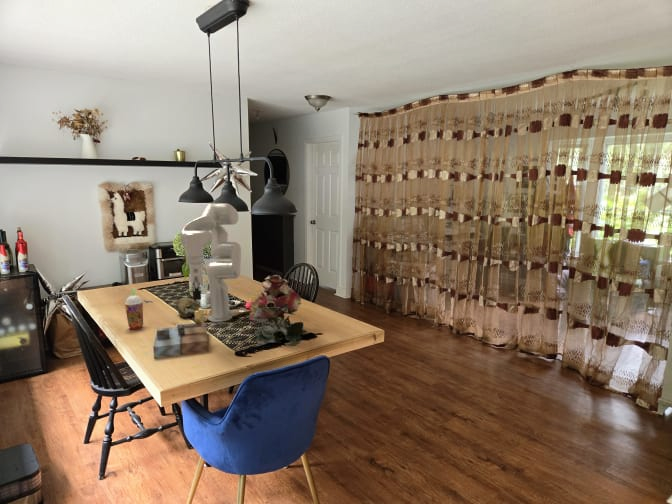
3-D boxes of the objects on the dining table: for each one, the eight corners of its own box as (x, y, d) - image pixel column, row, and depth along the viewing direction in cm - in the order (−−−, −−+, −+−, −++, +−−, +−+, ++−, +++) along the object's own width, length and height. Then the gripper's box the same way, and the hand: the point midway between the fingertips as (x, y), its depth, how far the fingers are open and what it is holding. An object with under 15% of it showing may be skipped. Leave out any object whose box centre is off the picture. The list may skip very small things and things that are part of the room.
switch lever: (177, 329, 188) (176, 314, 187) (177, 327, 192) (176, 312, 191) (203, 326, 192) (202, 311, 191) (203, 324, 195) (202, 309, 194)
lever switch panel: (206, 333, 207) (205, 315, 205) (208, 351, 184) (207, 332, 183) (158, 338, 200) (156, 321, 198) (154, 358, 177) (152, 338, 176)
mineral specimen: (203, 317, 231) (202, 299, 230) (179, 320, 226) (177, 303, 224) (199, 310, 244) (198, 293, 243) (175, 313, 238) (174, 296, 237)
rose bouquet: (304, 324, 217) (302, 268, 213) (301, 346, 189) (299, 281, 184) (254, 325, 217) (252, 269, 212) (244, 347, 188) (241, 282, 183)
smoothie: (125, 331, 210) (121, 292, 207) (129, 325, 218) (125, 288, 215) (143, 329, 213) (140, 291, 209) (146, 324, 220) (143, 287, 217)
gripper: (204, 262, 181) (206, 300, 183) (203, 256, 197) (205, 292, 200) (185, 263, 179) (188, 302, 181) (186, 257, 195) (188, 293, 197)
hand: (197, 297), depth 190 cm, fingers open, 9 cm apart
